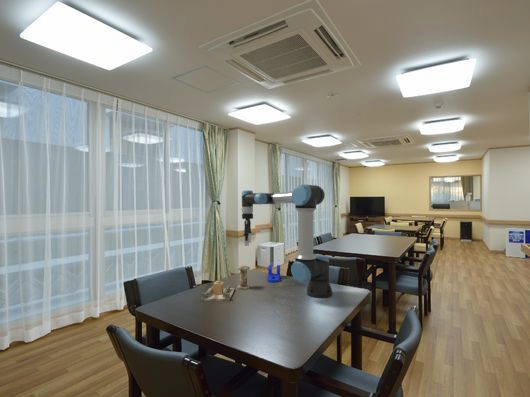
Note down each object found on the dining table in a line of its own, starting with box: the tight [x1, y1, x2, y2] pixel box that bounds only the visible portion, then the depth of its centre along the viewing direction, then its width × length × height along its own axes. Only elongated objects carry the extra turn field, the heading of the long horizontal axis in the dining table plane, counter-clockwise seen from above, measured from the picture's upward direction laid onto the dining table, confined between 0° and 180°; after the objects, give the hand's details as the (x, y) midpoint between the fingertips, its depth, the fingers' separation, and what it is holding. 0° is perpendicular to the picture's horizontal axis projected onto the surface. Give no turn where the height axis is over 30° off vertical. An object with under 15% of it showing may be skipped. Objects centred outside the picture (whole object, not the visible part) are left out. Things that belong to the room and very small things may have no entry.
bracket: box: [266, 264, 281, 284], centre depth 203 cm, size 18×8×9 cm, turn 174°
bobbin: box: [236, 265, 251, 290], centre depth 184 cm, size 8×8×13 cm
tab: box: [212, 280, 224, 294], centre depth 170 cm, size 5×5×7 cm
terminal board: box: [200, 284, 236, 302], centre depth 170 cm, size 16×20×4 cm
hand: (247, 244), depth 194 cm, fingers open, 13 cm apart
